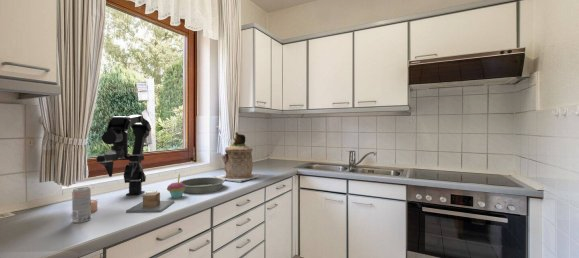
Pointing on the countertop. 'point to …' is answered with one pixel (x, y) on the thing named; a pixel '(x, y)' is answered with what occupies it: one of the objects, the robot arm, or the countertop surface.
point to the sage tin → (151, 191)
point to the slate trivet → (157, 208)
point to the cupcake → (176, 189)
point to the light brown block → (93, 206)
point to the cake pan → (202, 185)
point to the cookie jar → (238, 161)
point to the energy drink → (81, 205)
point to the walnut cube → (151, 199)
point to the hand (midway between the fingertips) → (120, 176)
